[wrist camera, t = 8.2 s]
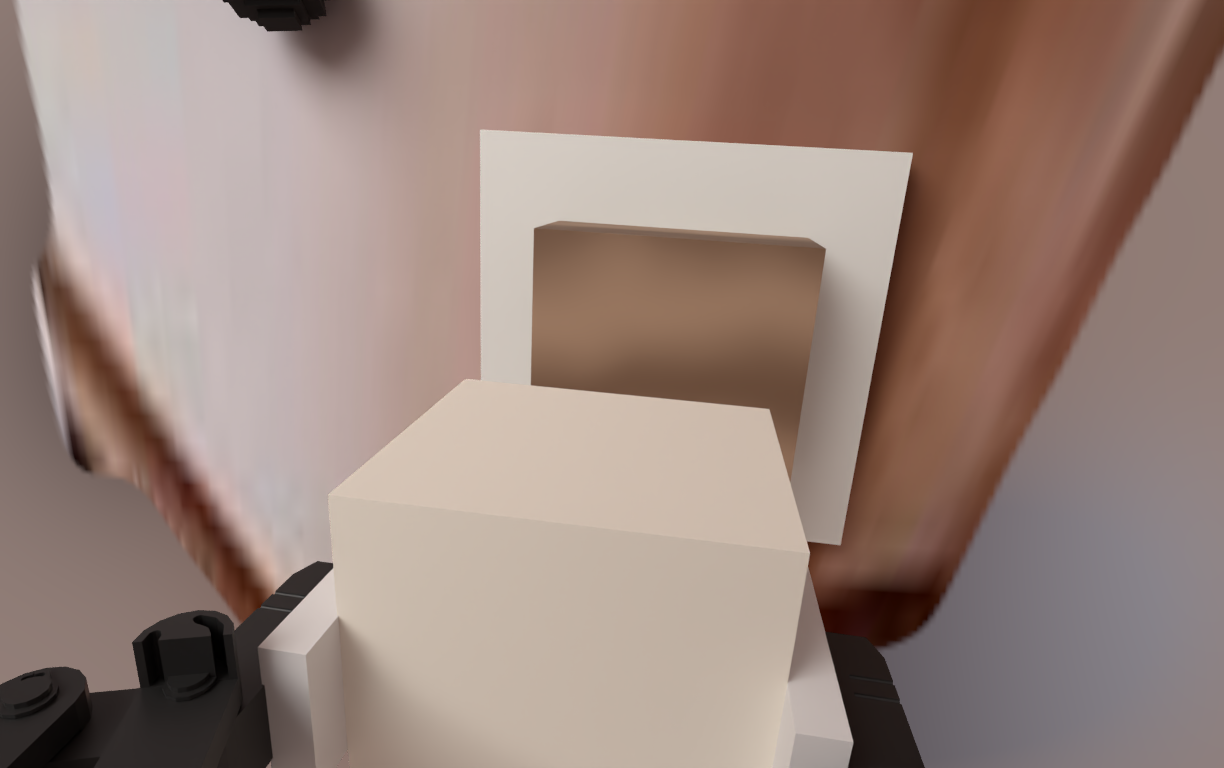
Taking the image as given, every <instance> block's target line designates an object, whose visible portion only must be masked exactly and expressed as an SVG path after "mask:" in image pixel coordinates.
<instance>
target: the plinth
mask: <svg viewBox="0 0 1224 768" xmlns="http://www.w3.org/2000/svg"><path fill="white" fill-rule="evenodd" d="M912 155H913V153H904V152H886V151H867V150H849V149H830V148H812V147H793V146H775V145H756V144H737V143H719V142H700V141H682V140H663V139H645V138H626V137H608V136H589V135H570V134H552V133H533V132H515V131H496V130H480V254H481V380H482V381H492V382H502V383H512V384H522V385H531V346H532V297H533V248H534V228H536V227H539V226H543V225H546V224H549V223H553V222H556V221H572V222H586V223H601V224H615V225H630V226H644V227H659V228H673V229H688V230H702V231H717V232H731V233H746V234H760V235H775V236H789V237H804V238H809V239H811V240H813V241H814V242H816V243H818V244H819V245H821V246H823V247H824V248H826V253H825V260H824V266H823V273H822V279H821V286H820V292H819V299H818V305H817V312H816V319H815V325H814V332H813V338H812V345H811V351H810V358H809V364H808V371H807V377H806V384H805V390H804V397H803V403H802V410H801V416H800V423H799V429H798V436H797V442H796V449H795V455H794V462H793V469H792V475H791V482H790V484H791V488H792V491H793V495H794V498H795V502H796V505H797V509H798V513H799V516H800V520H801V523H802V527H803V530H804V534H805V537H806V541H809V542H817V543H826V544H834V545H841V540H842V534H843V529H844V523H845V518H846V513H847V507H848V502H849V496H850V491H851V486H852V480H853V475H854V469H855V464H856V459H857V453H858V448H859V442H860V437H861V431H862V426H863V421H864V415H865V410H866V404H867V399H868V394H869V388H870V383H871V377H872V372H873V366H874V361H875V356H876V350H877V345H878V339H879V334H880V329H881V323H882V318H883V312H884V307H885V301H886V296H887V291H888V285H889V280H890V274H891V269H892V264H893V258H894V253H895V247H896V242H897V237H898V231H899V226H900V220H901V215H902V209H903V204H904V199H905V193H906V188H907V182H908V177H909V172H910V166H911V161H912Z"/></svg>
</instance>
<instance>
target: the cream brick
mask: <svg viewBox="0 0 1224 768" xmlns="http://www.w3.org/2000/svg"><path fill="white" fill-rule="evenodd" d="M328 505H329V518H330V531H331V543H332V556H333V569H334V582H335V595H336V608H337V616H339V631H340V645H341V660H342V674H343V689H344V704H345V718H346V733H347V747H348V761H349V768H772V766H773V761H774V756H775V750H776V745H777V739H778V734H779V728H780V723H781V717H782V712H783V706H784V701H785V695H786V690H787V684H788V678H789V673H790V667H791V661H792V655H793V649H794V644H795V638H796V632H797V626H798V620H799V615H800V609H801V603H802V597H803V591H804V585H805V580H806V574H807V568H808V562H809V556H810V552H809V548H808V544H807V541H806V537H805V534H804V530H803V527H802V523H801V520H800V516H799V513H798V509H797V505H796V502H795V498H794V495H793V491H792V488H791V484H790V481H789V477H788V473H787V470H786V466H785V463H784V459H783V456H782V452H781V449H780V445H779V442H778V438H777V434H776V431H775V427H774V424H773V420H772V417H771V413H770V410H769V409H764V408H754V407H744V406H734V405H724V404H714V403H704V402H694V401H684V400H674V399H663V398H653V397H643V396H633V395H623V394H613V393H603V392H593V391H583V390H572V389H562V388H552V387H542V386H532V385H522V384H512V383H502V382H492V381H482V380H471V379H465V380H464V381H462V382H461V383H460V384H459V385H458V386H456V387H455V388H454V389H453V390H452V391H450V392H449V393H448V394H447V395H446V396H445V397H443V398H442V399H441V400H440V401H439V402H437V403H436V404H435V405H434V406H433V407H431V408H430V409H429V410H428V411H427V412H426V413H424V414H423V415H422V416H421V417H420V418H418V419H417V420H416V421H415V422H414V423H412V424H411V425H410V426H409V427H408V428H407V429H405V430H404V431H403V432H402V433H401V434H399V435H398V436H397V437H396V438H395V439H394V440H392V441H391V442H390V443H389V444H388V445H386V446H385V447H384V448H383V449H382V450H380V451H379V452H378V453H377V454H376V455H375V456H373V457H372V458H371V459H370V460H369V461H367V462H366V463H365V464H364V465H363V466H361V467H360V468H359V469H358V470H357V471H356V472H354V473H353V474H352V475H351V476H350V477H348V478H347V479H346V480H345V481H344V482H342V483H341V484H340V485H339V486H338V487H337V488H335V489H334V490H333V491H332V492H331V493H329V494H328Z"/></svg>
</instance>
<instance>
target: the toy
mask: <svg viewBox="0 0 1224 768" xmlns="http://www.w3.org/2000/svg"><path fill="white" fill-rule="evenodd" d="M223 2H228V3H229V4H230V5H231V7H232V8H233V9H234V11H235V12H236V13H237V15H238V16H239V17H240V18H249V19H250V20H251V21H256V22H257V24H258V25H259V26H264V27H265V29H266V30H267V31H298V30H302V26H301V25H311V22H310V19H319V16H326V11H325V5H324V0H223Z"/></svg>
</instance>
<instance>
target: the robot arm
mask: <svg viewBox="0 0 1224 768" xmlns="http://www.w3.org/2000/svg"><path fill="white" fill-rule="evenodd" d="M132 644H133V650H134V655H135V660H136V666H137V671H138V677H139V682H140V687H141V688H137V689H128V690H118V691H106V692H95V693H89V689H88V685H87V680H86V677H85V676H84V675H83V674H82V673H81V672H80V670H76V669H73V668H69V667H55V668H54V667H53V668H45V669H41V670H36V671H33V672H30V673H25V674H23V675H20V676H18V677H16V678H14V679H12V680H9V681H7V682H5V683H3V684H1V685H0V768H266V766H267V765H268V764H269V762H270V761H271V767H272V768H337V766H338V764H339V763H340V761H341V760H342V758H343V756H344V755H345V753H346V752H347V750H348V747H347V733H346V718H345V704H344V689H343V674H342V660H341V645H340V631H339V616H337V608H336V595H335V582H334V569H333V563H326V562H319V561H317V562H315V563H313V564H312V565H310V566H308V567H306V568H304V569H302V570H300V571H298V572H297V573H295V574H293V575H292V576H291V577H290V578H289V579H288V580H287V581H286V582H285V583H283V584H282V585H281V586H280V587H279V588H278V589H277V590H276V593H275V595H274V594H272V595H271V596H270V597H269V598H268V599H267V600H266V601H265V602H264V603H263V604H262V605H261V608H257V609H256V610H255V611H254V612H253V613H252V614H251V615H250V616H249V617H248V618H247V619H246V620H245V621H244V622H243V623H242V624H241V625H240V626H239V627H238V628H237V629H236V630H235V631H234V624H233V622H232V621H231V620H230V618H229V617H228V616H227V615H225V614H222V613H220V612H217V611H204V610H198V611H193V612H186V613H181V614H177V615H175V616H172V617H169V618H166V619H164V620H161V621H159V622H157V623H156V624H154V625H153V626H151V627H149V628H147V629H146V630H144V631H143V632H142V633H141V634H140V635H139V636H138V637H137V638H136V639H135V640H134V641H133V642H132ZM899 701H900V699H899V696H898V694H897V691H896V688H895V686H894V685H893V680H892V678H891V675H890V672H889V669H888V667H887V664H886V661H885V659H884V657H883V656H882V655H881V654H880V653H879V652H878V651H877V649H876V648H875V647H874V646H873V645H872V644H871V643H870V642H869V640H868V639H867V638H865V637H858V636H851V635H844V634H837V633H830V632H825V630H824V626H823V622H822V618H821V614H820V611H819V607H818V603H817V599H816V595H815V591H814V587H813V583H812V580H811V576H810V572H809V568H807V574H806V580H805V585H804V591H803V597H802V603H801V609H800V615H799V620H798V626H797V632H796V638H795V644H794V649H793V655H792V661H791V667H790V673H789V678H788V684H787V690H786V695H785V701H784V706H783V712H782V717H781V723H780V728H779V734H778V739H777V745H776V750H775V756H774V761H773V766H772V768H925V767H924V765H923V762H922V759H921V756H920V754H919V751H918V748H917V746H916V743H915V740H914V737H913V735H912V732H911V729H910V726H909V724H908V721H907V718H906V715H905V713H904V710H903V707H902V705H901V704H900V702H899Z"/></svg>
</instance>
